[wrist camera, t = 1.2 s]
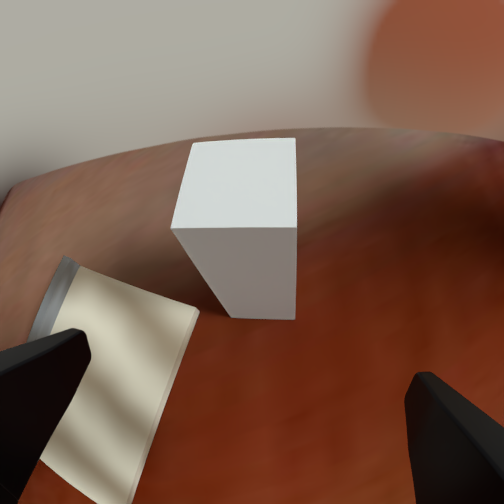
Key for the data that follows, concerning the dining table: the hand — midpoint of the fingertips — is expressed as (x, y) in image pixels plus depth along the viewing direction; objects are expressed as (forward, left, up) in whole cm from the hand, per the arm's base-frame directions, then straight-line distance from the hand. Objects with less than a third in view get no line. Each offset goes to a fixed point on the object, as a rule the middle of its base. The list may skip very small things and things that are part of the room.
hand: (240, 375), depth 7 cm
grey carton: (+7, +3, -13) cm, 15 cm away
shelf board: (-5, +13, -13) cm, 19 cm away
